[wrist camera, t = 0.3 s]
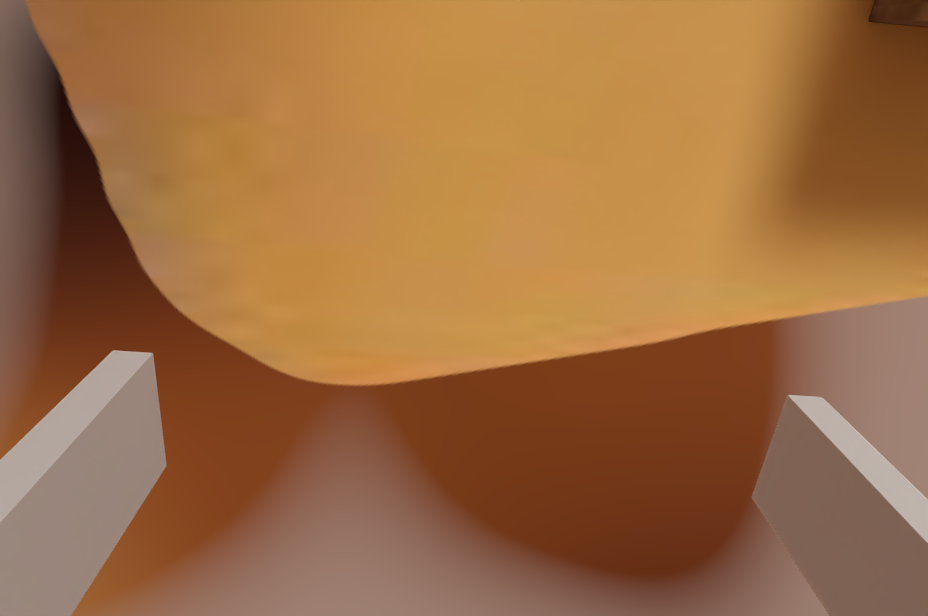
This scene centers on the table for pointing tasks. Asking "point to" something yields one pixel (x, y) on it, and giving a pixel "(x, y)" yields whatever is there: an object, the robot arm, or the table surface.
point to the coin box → (900, 12)
